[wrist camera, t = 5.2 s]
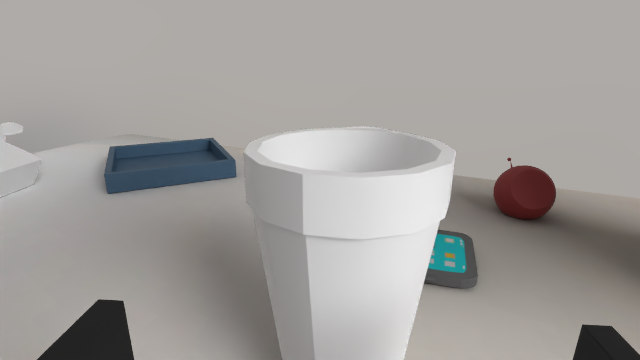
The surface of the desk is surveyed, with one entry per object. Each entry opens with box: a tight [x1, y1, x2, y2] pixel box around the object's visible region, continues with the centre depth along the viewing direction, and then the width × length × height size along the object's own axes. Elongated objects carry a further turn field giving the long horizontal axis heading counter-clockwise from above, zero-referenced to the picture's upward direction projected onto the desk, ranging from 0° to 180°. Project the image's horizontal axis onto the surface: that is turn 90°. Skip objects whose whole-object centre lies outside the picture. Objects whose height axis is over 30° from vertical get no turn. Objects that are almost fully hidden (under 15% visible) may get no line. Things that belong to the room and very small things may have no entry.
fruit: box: [494, 158, 556, 219], centre depth 43 cm, size 6×6×8 cm
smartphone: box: [424, 230, 478, 288], centre depth 34 cm, size 9×1×15 cm
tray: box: [104, 138, 236, 194], centre depth 58 cm, size 17×17×3 cm
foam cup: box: [243, 127, 456, 360], centre depth 19 cm, size 10×9×13 cm
